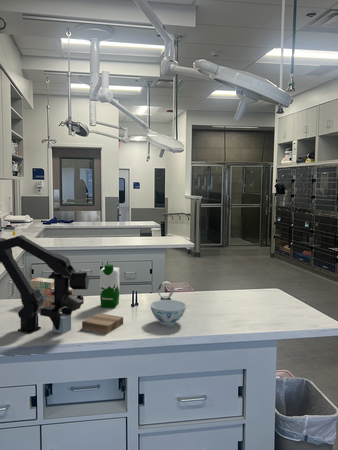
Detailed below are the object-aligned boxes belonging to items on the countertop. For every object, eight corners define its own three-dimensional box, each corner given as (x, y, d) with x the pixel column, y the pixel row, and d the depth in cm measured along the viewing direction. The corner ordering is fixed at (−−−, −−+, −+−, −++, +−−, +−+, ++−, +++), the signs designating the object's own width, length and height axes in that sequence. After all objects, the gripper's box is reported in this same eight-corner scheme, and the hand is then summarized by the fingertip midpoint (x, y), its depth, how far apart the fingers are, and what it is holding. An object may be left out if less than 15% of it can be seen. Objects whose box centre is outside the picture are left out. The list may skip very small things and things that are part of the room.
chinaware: (145, 318, 175) (145, 301, 174) (177, 315, 180) (178, 298, 179) (157, 330, 161) (157, 311, 160) (191, 326, 166) (191, 308, 166)
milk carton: (98, 307, 190) (98, 266, 188) (103, 302, 199) (103, 262, 197) (116, 308, 189) (116, 266, 187) (121, 303, 198) (121, 263, 196)
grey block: (63, 333, 156) (62, 318, 156) (52, 331, 158) (52, 316, 158) (71, 329, 161) (71, 314, 160) (61, 327, 163) (60, 313, 162)
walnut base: (107, 333, 157) (107, 326, 157) (82, 328, 162) (82, 321, 161) (123, 324, 168) (123, 317, 168) (98, 319, 173) (98, 313, 172)
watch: (156, 302, 199) (156, 280, 198) (172, 302, 201) (172, 280, 200) (158, 306, 194) (158, 283, 193) (174, 305, 195) (174, 283, 194)
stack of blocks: (74, 307, 191) (74, 281, 190) (66, 310, 185) (66, 284, 184) (39, 301, 199) (38, 277, 198) (30, 304, 194) (29, 279, 192)
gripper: (62, 297, 146) (63, 338, 148) (92, 286, 163) (92, 323, 165) (38, 293, 151) (39, 334, 152) (70, 283, 168) (70, 319, 169)
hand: (62, 327), depth 159 cm, fingers closed on grey block, 5 cm apart
